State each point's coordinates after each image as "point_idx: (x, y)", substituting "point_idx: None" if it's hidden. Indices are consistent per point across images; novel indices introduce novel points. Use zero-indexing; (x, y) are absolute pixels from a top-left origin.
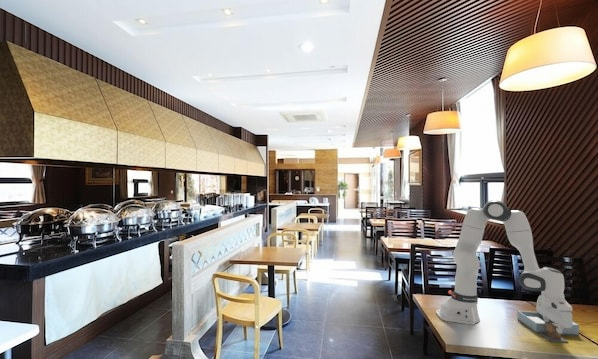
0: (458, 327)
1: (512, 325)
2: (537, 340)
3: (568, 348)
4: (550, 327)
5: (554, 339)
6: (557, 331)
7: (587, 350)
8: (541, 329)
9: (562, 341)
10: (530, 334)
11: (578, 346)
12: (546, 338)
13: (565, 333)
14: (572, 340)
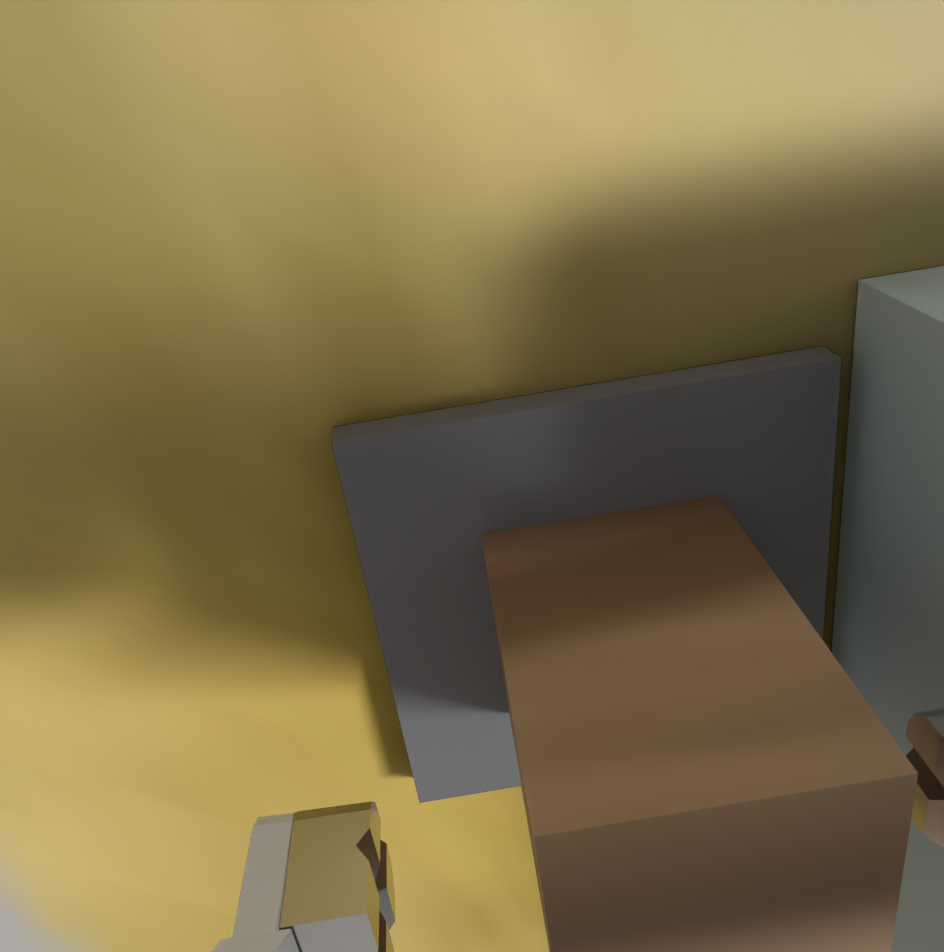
0: None
1: None
2: (261, 35)
3: (79, 679)
4: (596, 754)
5: (437, 575)
6: (294, 835)
7: (175, 941)
8: (912, 477)
9: (399, 703)
10: (727, 6)
11: None
12: (495, 406)
13: None
14: None
